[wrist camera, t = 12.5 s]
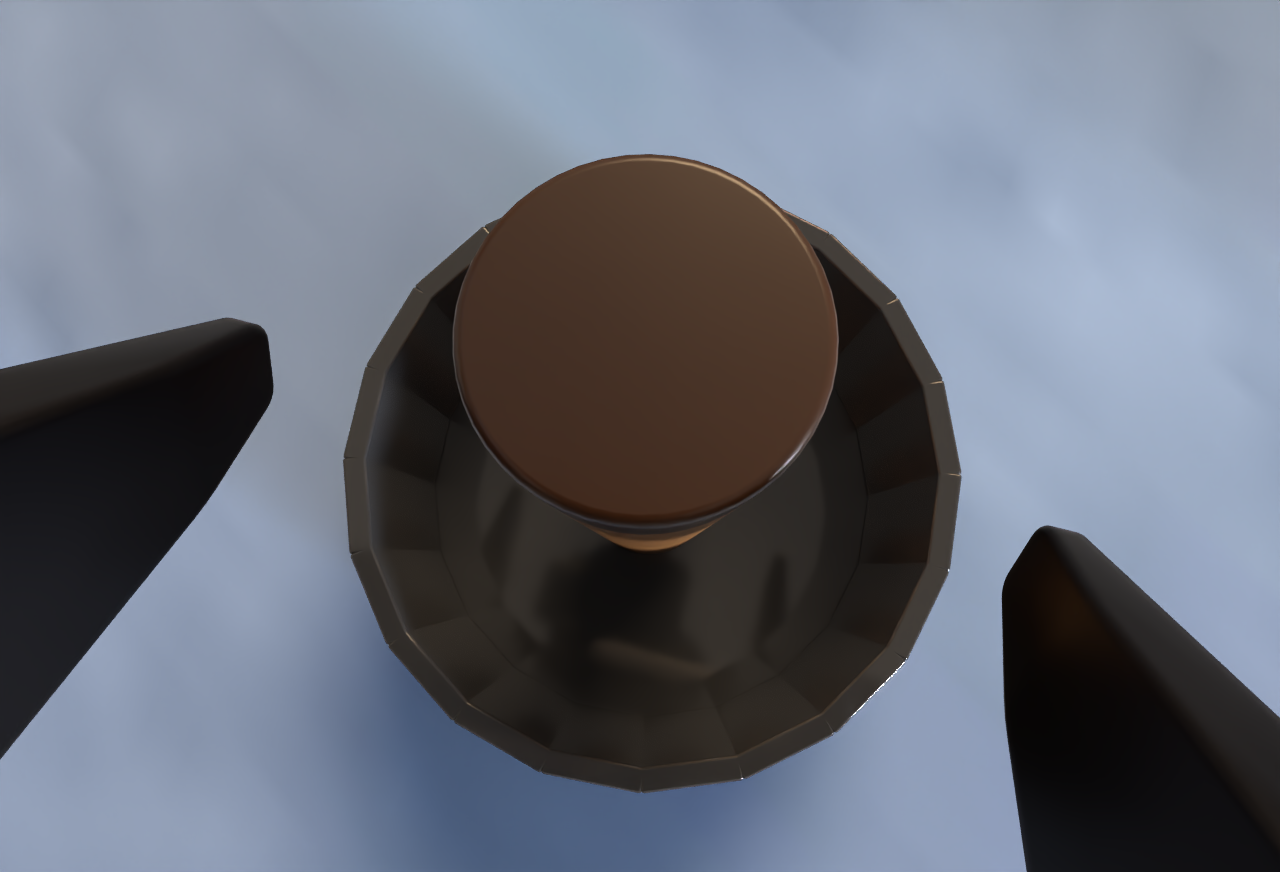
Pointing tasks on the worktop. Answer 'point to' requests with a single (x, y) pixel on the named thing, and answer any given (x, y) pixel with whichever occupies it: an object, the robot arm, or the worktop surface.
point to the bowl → (655, 563)
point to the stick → (645, 346)
